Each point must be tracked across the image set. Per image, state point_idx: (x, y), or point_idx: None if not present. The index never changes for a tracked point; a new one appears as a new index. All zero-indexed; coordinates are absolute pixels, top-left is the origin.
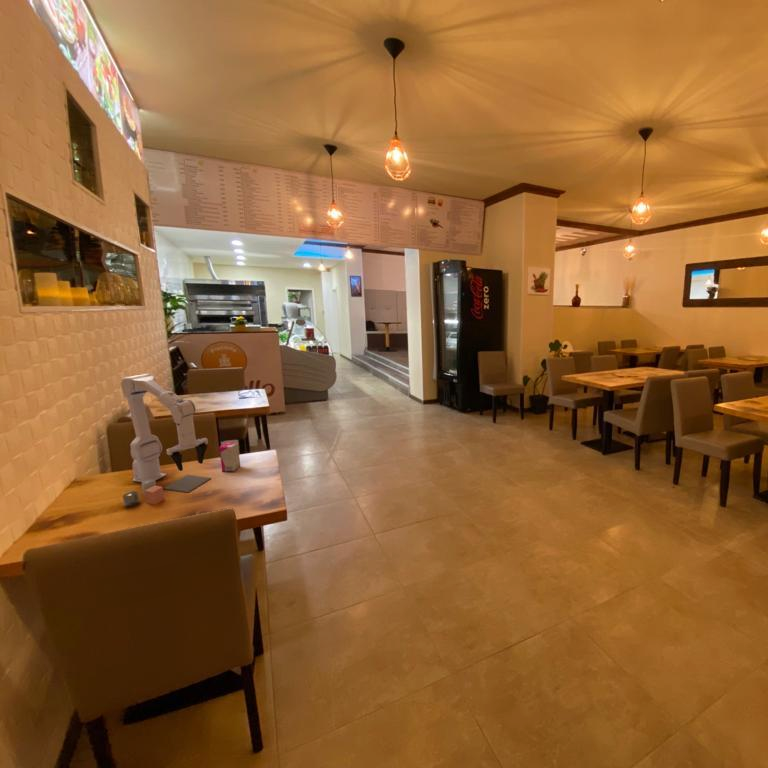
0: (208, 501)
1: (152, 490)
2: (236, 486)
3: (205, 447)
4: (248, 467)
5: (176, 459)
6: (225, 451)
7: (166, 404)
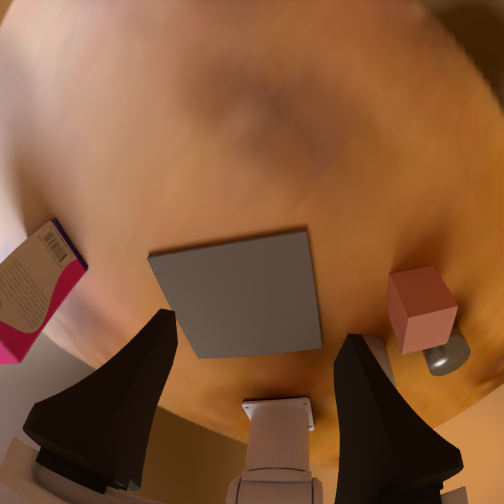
0: (319, 35)
1: (445, 321)
2: (116, 56)
3: (44, 422)
4: (10, 203)
5: (438, 435)
6: (9, 316)
7: None
